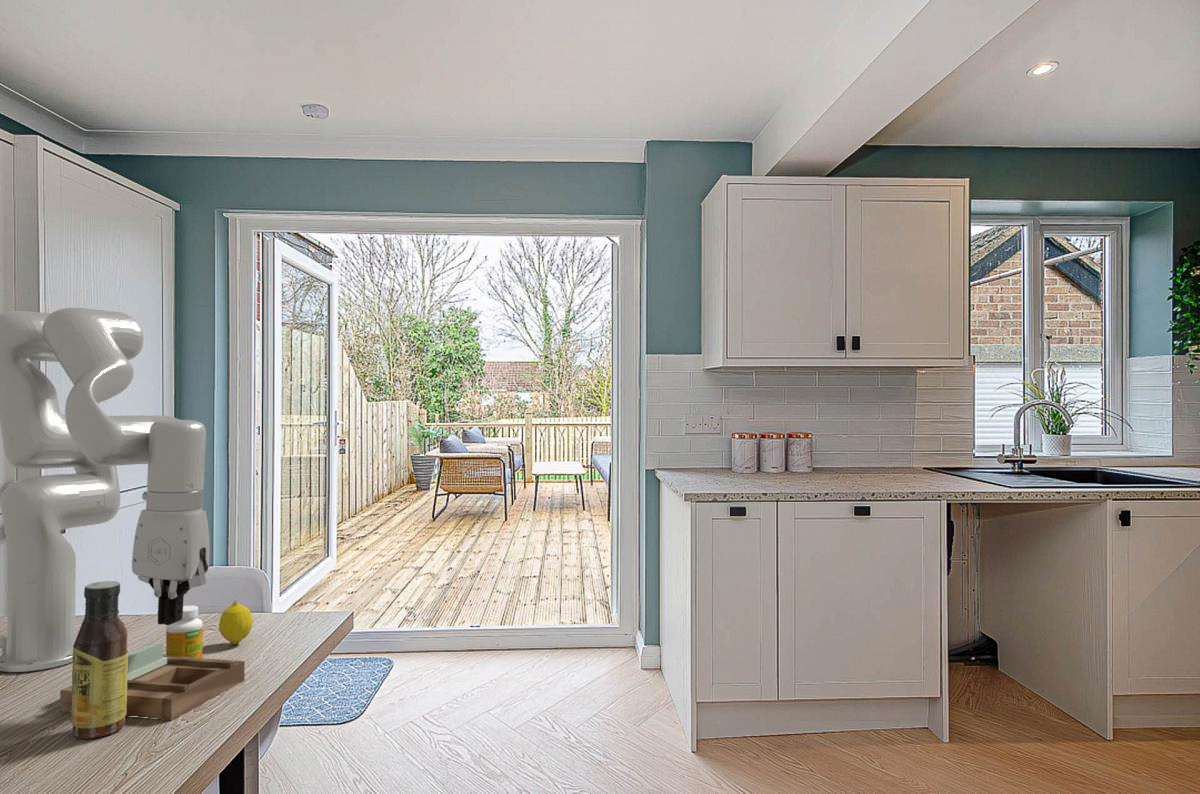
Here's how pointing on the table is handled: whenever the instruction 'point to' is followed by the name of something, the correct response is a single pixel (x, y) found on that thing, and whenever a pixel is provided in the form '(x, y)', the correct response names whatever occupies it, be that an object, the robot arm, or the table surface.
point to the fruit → (235, 623)
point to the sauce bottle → (100, 665)
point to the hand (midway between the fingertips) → (170, 621)
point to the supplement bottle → (185, 635)
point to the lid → (145, 660)
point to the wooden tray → (175, 686)
